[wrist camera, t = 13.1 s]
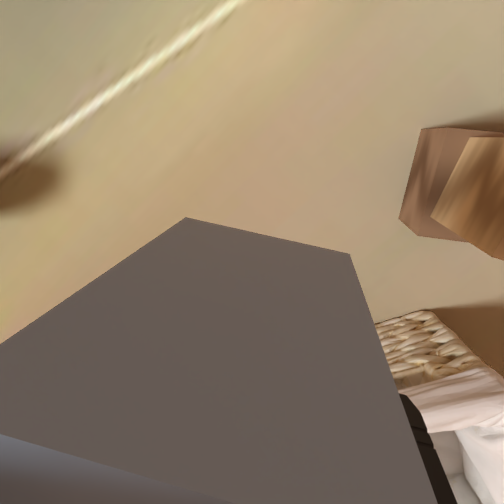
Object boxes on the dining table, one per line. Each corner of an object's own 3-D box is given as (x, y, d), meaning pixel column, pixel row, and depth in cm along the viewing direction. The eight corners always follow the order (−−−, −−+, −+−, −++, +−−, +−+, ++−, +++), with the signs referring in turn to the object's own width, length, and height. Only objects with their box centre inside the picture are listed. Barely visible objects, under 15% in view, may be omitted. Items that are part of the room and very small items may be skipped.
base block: (420, 129, 29) (448, 127, 23) (519, 138, 28) (572, 139, 22) (398, 218, 32) (417, 235, 26) (487, 229, 31) (527, 250, 25)
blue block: (185, 217, 12) (-92, 407, 4) (349, 253, 12) (460, 570, 3) (170, 350, 14) (-26, 662, 6) (308, 386, 14) (310, 782, 5)
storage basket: (290, 335, 37) (281, 450, 24) (440, 288, 33) (535, 397, 19) (362, 484, 43) (389, 647, 29) (499, 461, 39) (604, 641, 25)
